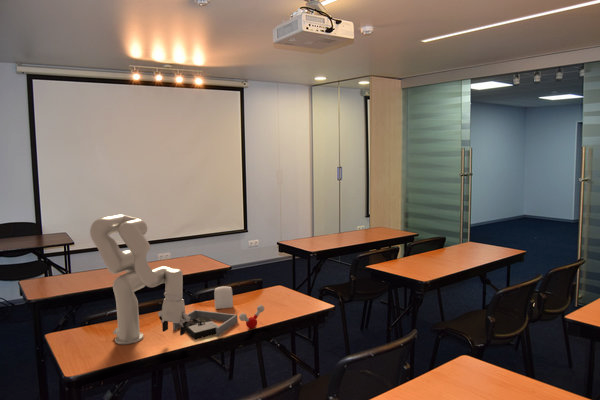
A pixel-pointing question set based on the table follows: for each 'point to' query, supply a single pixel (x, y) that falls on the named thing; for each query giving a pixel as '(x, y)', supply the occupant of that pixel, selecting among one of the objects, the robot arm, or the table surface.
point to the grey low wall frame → (228, 318)
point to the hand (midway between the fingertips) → (173, 332)
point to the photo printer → (223, 297)
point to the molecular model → (251, 321)
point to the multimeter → (201, 327)
